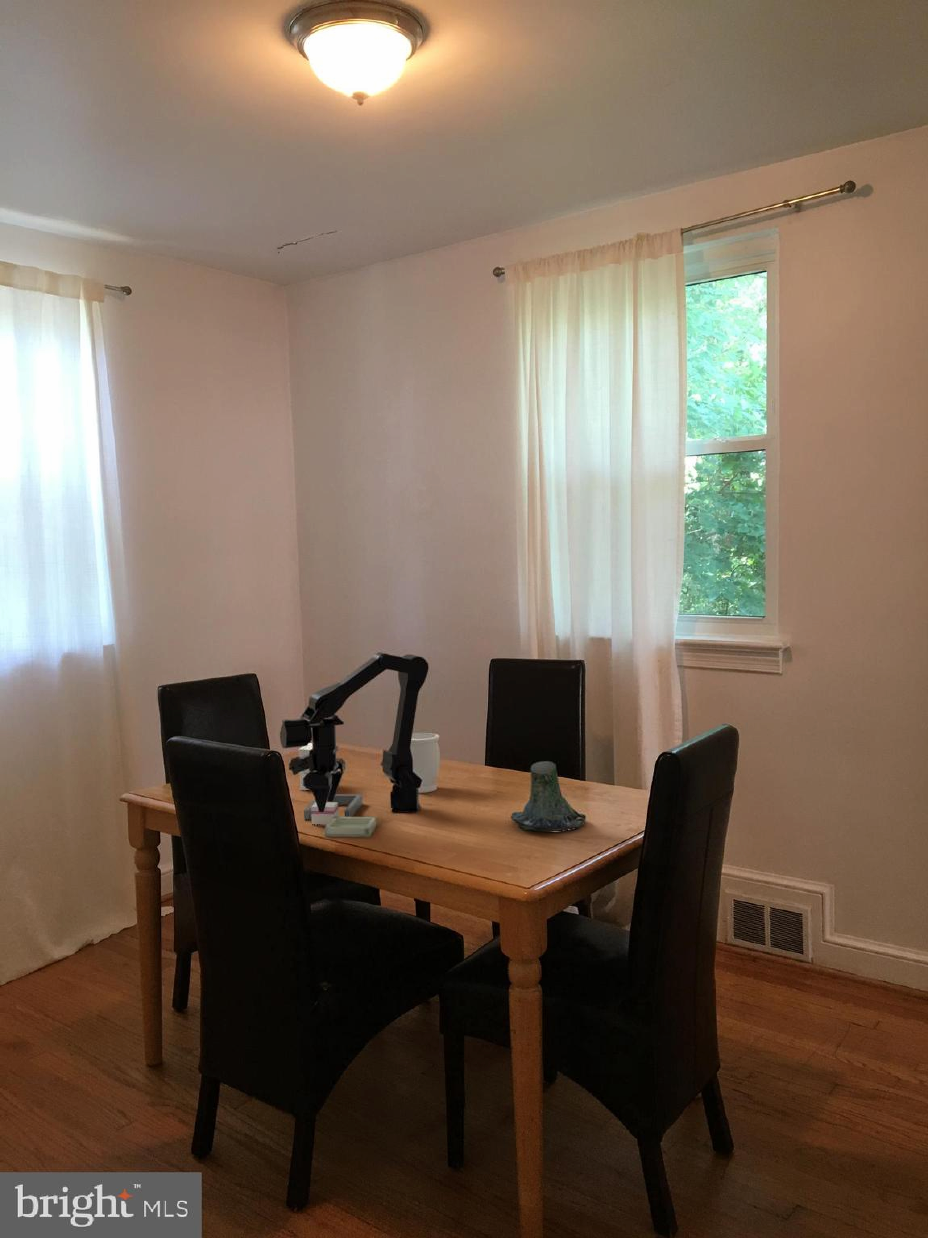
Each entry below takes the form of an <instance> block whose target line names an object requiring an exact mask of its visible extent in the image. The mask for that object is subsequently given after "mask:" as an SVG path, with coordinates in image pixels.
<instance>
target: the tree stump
mask: <svg viewBox="0 0 928 1238" xmlns="http://www.w3.org/2000/svg"><path fill="white" fill-rule="evenodd" d="M529 794H530V796H529V800H528V801H527V802H526V804H525V806H524V807H523V810H522V811H514V812H512V813H511V815H510V819H511V820H512V821H513V822H514V823H515V824H516V825H517V826H518V825H519V826H518V827H520V828H521V827H522V829H523V830H524V829H525V830H524V831H527V830H535V831H534V832H540V831H562V832H564V831H563V830H568V829H573V828H578V827H580V826H582V827H583V825H584V824H585V822H586V819H587V818H586V817H587V816H586V814H584V813H579V812H578V811H576V810H575V809H574V808H573V807H572V806H571V805H570V803H569V802H568V800H567V799H566V797H563V795H562V791H561V787H560V783H559V778H558V771H557V765H556V764H555V763H554V762H552V761H549V760H546V761H537V762H535V763H533V764H531V767H530V793H529ZM584 821H585V822H584ZM583 823H584V824H583ZM580 828H581V827H580ZM578 829H579V828H578ZM573 830H574V829H573ZM568 831H569V830H568Z"/></svg>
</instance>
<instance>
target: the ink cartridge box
mask: <svg viewBox="0 0 928 1238" xmlns="http://www.w3.org/2000/svg"><path fill="white" fill-rule="evenodd" d="M311 749H312V742H310V743H308V745H307V746H302V747H301V748H300V747H299V748H298V750H297V751H298V757H302V756H304V755H307V754H309V751H310V750H311ZM309 772H310V771H309V769H307V770H304V771H302V772H299V785H300V786H299V788H300V789H299V790H300V791H306V790H309V789H306V787H304V786H303V778H304V777H305V776H306V775H307V774H308V773H309Z"/></svg>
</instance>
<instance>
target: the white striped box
mask: <svg viewBox="0 0 928 1238" xmlns="http://www.w3.org/2000/svg"><path fill="white" fill-rule="evenodd" d="M333 817H339V805H338V802H327V803H326V806H325V809H324V812H319V810H318V807H317V804H316V802H315V803H314V805H313V806H312V807H311V818H310V819H311V825H312V824H313V825H312V826H318V825H317V824H321V825H320V826H326V825H327V824H328V823H329V822H330V821H331V820H332V818H333ZM314 824H315V825H314ZM322 824H323V825H322Z"/></svg>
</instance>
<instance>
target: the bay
mask: <svg viewBox="0 0 928 1238" xmlns="http://www.w3.org/2000/svg"><path fill="white" fill-rule="evenodd" d="M315 802H316V801H315V798H314V799H313V800H312V801H311V802H310V803H309V804H308V805H307V806H306V807H305V808H304V809H303V819H307V820H306V821H309V820H310V819H312V818H311V807H312V806H313V805H314V803H315ZM327 802H328V800H327ZM333 802H338V806H347V807H346V808H345V809H344V817H354V815H355V814H356V813H357V812H358V810H359V809H360V808H361V807H362V805H363V794H345V793H344V794H341V793H339V794H337V793H336V794H335V797H334V799H333ZM356 811H357V812H356ZM308 819H309V820H308Z"/></svg>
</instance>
